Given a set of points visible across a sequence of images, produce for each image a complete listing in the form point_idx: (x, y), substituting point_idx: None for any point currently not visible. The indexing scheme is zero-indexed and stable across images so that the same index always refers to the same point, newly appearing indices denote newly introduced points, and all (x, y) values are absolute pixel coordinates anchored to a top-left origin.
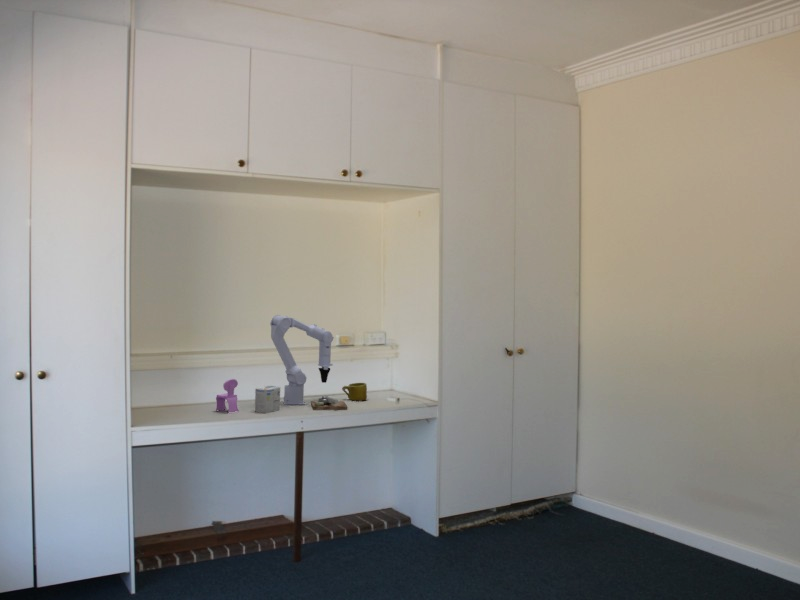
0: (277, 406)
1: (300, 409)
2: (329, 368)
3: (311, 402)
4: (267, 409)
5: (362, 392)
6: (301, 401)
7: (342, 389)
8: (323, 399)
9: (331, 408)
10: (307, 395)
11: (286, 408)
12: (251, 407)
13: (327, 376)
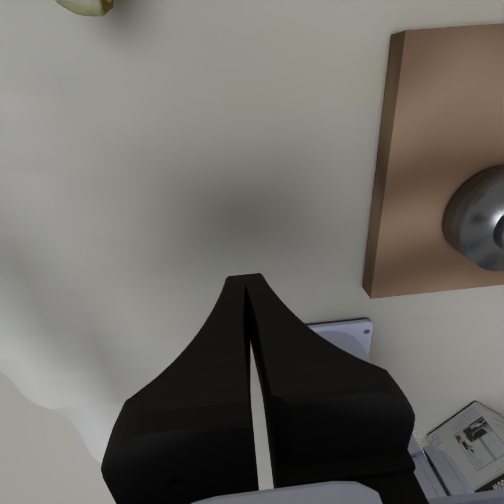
0: (499, 422)
1: (496, 327)
2: (249, 422)
3: (409, 293)
4: None
5: None
6: (358, 344)
7: (107, 11)
8: None
9: None
10: (6, 318)
11: (450, 381)
12: None
13: (290, 312)
